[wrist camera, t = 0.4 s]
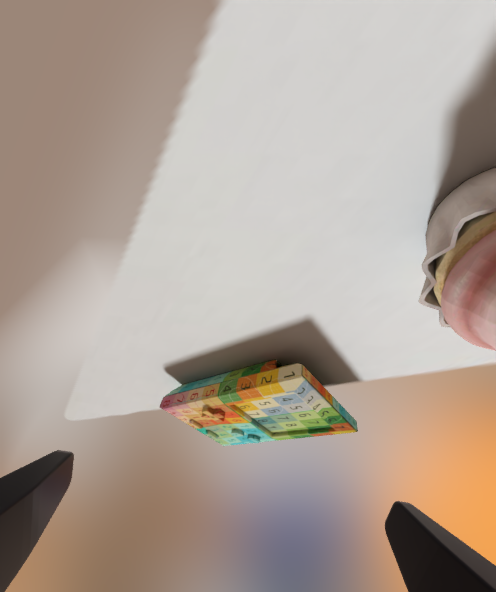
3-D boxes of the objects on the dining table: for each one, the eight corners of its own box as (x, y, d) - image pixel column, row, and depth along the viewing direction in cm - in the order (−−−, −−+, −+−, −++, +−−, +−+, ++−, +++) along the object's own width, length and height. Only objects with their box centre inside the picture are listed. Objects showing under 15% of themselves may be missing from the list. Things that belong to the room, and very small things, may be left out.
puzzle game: (156, 414, 33) (301, 384, 23) (170, 379, 36) (303, 340, 26) (218, 451, 38) (358, 440, 28) (226, 418, 42) (353, 397, 32)
